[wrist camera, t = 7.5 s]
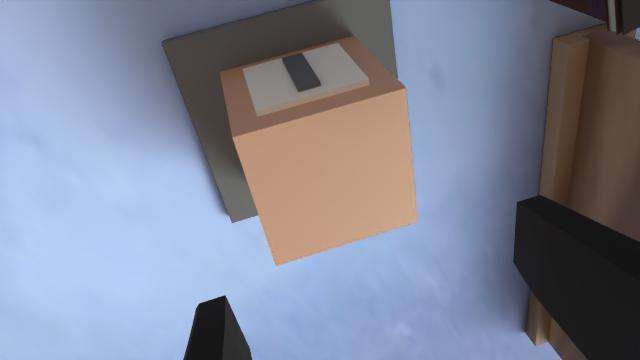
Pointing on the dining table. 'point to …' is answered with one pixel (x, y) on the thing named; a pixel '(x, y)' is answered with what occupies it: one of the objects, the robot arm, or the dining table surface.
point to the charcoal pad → (256, 45)
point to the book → (609, 12)
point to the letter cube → (322, 146)
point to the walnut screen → (591, 145)
